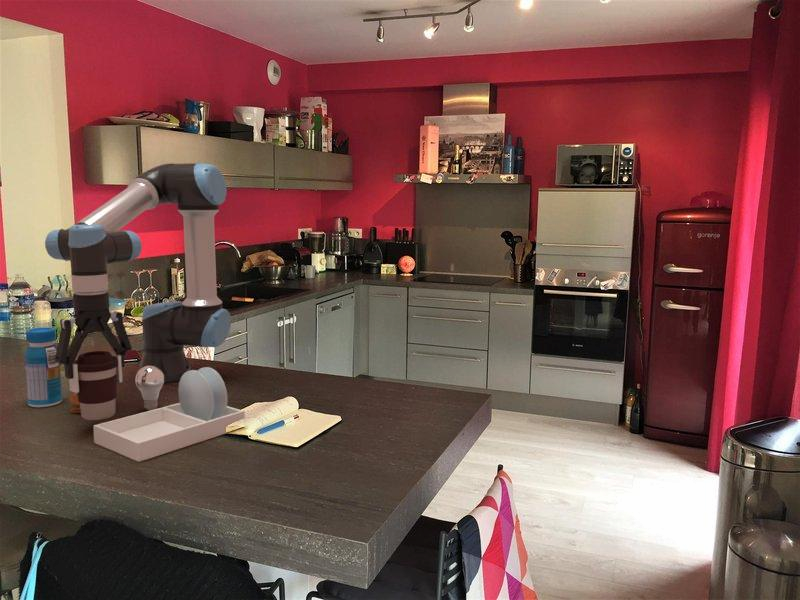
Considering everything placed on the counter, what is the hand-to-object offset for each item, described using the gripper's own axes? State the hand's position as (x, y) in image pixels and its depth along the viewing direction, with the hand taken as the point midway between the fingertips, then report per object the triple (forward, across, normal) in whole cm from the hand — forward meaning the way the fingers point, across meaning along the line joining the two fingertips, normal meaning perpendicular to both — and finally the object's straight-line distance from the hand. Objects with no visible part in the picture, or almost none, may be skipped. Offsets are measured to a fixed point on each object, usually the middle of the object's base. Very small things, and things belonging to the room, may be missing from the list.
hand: (96, 386), depth 154 cm
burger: (+11, -6, -16) cm, 21 cm away
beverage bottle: (+11, -1, -30) cm, 32 cm away
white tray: (+10, -8, +17) cm, 22 cm away
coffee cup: (+7, 0, 0) cm, 7 cm away
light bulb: (+11, -15, -3) cm, 19 cm away
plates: (+10, -17, +17) cm, 26 cm away
